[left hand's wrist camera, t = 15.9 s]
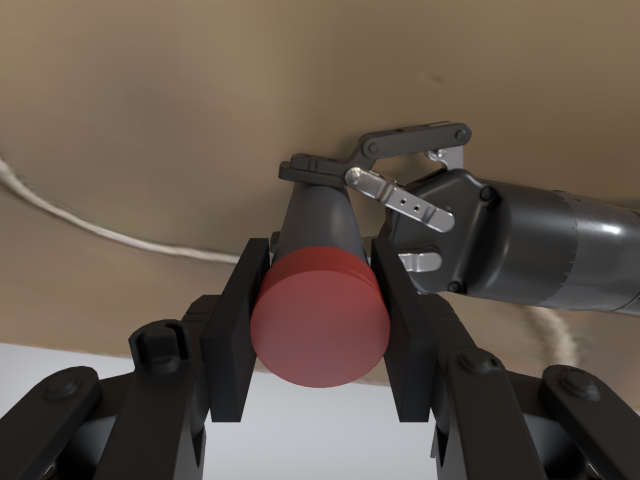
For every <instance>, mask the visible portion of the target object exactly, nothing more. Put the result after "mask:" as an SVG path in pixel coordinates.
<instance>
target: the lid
mask: <svg viewBox="0 0 640 480" xmlns="http://www.w3.org/2000/svg"><path fill="white" fill-rule="evenodd" d="M390 324H391V321H390V316H389V312H388V310H387V306H386V303H385V300H384V297H383V294H382V291H381V288H380V285H379V282H378V280H377V278H376V276H375V274H374V273H373V271H372V270H371V269H370V267H369V266H368V265H367V264H366V263H365V262H364V261H362V260H361V259H360V258H359V257H357V256H355V255H353V254H352V253H350V252H347V251H345V250H342V249H339V248H335V247H329V246H312V247H306V248H301V249H298V250H295V251H293V252H291V253H289V254H287V255H285V256H283V257H282V258H280V259H279V260H278V261H277V262H276V263H274V264H273V265H272V267H271V268H270V269H269V270H268V271H267V273H266V275H265V276H264V278H263V280H262V283H261V286H260V289H259V292H258V295H257V298H256V301H255V304H254V307H253V310H252V314H251V317H250V334H251V343H252V346H253V349H254V351H255V353H256V354H257V356H258V358H259V359H260V360H261V362H262V363H263V364H264V365H265V366H266V367H267V368H268V369H269V370H270V371H271V372H273V373H274V374H275V375H277V376H279V377H280V378H282V379H284V380H286V381H288V382H291V383H294V384H297V385H301V386H305V387H313V388H326V387H334V386H340V385H343V384H347V383H349V382H352V381H354V380H356V379H358V378H360V377H362V376H363V375H365V374H366V373H368V372H369V371H370V370H371V369H372V368H374V367H375V366H376V364H377V363H378V362H379V361H380V360H381V358H382V357H383V355H384V353H385V351H386V349H387V347H388V344H389V336H390Z"/></svg>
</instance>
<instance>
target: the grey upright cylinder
mask: <svg viewBox="0 0 640 480" xmlns="http://www.w3.org/2000/svg"><path fill="white" fill-rule="evenodd" d="M312 246H329V247H335V248H339V249H342V250H345V251H347V252H350V253H352V254H353V255H355V256H357V257H359V258H360V259H361V260H362V261H364V262H365V263H366V264H367V265H368V266H369V267H370V265H369V262H368V258H367V255H366V252H365V248H364V245H363V242H362V239H361V235H360V232H359V229H358V225H357V222H356V219H355V215H354V212H353V209H352V205H351V202H350V199H349V195H348V192H347V189H346V186H345V185H341V189H337V188H331V187H327V186H319V185H313V184H307V183H301V182H296V183H295V186H294V190H293V193H292V196H291V200H290V203H289V206H288V210H287V213H286V216H285V220H284V223H283V226H282V229H281V233H280V236H279V239H278V243H277V246H276V249H275V253H274V256H273V259H272V263H271V266H270V268H271V267H272V265H273V264H274V263H276V262H277V261H278V260H279V259H280V258H282V257H283V256H285V255H287V254H289V253H291V252H293V251H295V250H298V249H301V248H306V247H312ZM370 269H371V268H370Z"/></svg>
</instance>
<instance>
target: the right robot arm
mask: <svg viewBox="0 0 640 480" xmlns="http://www.w3.org/2000/svg"><path fill="white" fill-rule="evenodd" d="M470 137H471V129H470V127H469V126H468V125H466V124H464V123H457V122H451V121H443V122H436V123H430V124H424V125H417V126H411V127H405V128H398V129H392V130H386V131H379V132H373V133H367V134H364V135H362V136H361V137H360V139H359V141H358V144H357V146H356V148H355V149H354V151H353V153H352V154H351V156H349V157H348V158H346V159H343V160H338V159H332V158H326V157H320V156H314V155H309V154H303V153H300V154H296V155H293V156H292V158H291V162H285V161H284V162H281V164H280V167H279V175H278V178H280V179H283V180H289V181H295V182H301V183H307V184H313V185H319V186H327V187H331V188H337V189H341V185H347V186H349V187H351V188H353V189H355V190H357V191H359V192H361V193H363V194H365V195H368V196H370V197H372V198H374V199H376V200H377V201H379V202H380V203H382V204H383V205H385V206H386V208H385V209H386V220H385V222H384V224H383V226H382V228H381V230H380V233H379V236H370V237H363V238H361V239H362V242H363V245H364V248H365V252H366V255H367V258H368V262H369V265H370V259H371V242H372V238H390V239H391V241H392V243H393V245H394V247H395V249H396V251H397V253H398V255H399V257H400V259H401V261H402V263H403V265H404V267H405V269H406V270H407V272H408V274H409V276H410V278H411V280H412V282H413V284H414V286H415V288H416V290H417V292H418V294H434V293H437V292H442V291H450V292H454V293H457V294H460V295H464V296H469V297H476V298H482V299H489V300H496V301H503V302H510V303H517V304H523V305H530V306H537V307H544V308H551V309H557V310H568V311H599V312H605V313H612V314H619V315H626V316H632V317H639V318H640V210H637V209H631V208H625V207H619V206H615V205H612V204H608V203H606V202H603V201H600V200H596V199H593V198H588V197H583V196H578V195H572V194H571V193H567V192H565V191H558V190H552V191H549V190H543V189H537V188H531V187H525V186H519V185H513V184H507V183H501V182H495V181H489V180H483V179H478V178H476V177H474V176H473V175H472V174H471V173H470V172H469V171H467V170H465V169H463V145H465V144H466V143H467V142H468V141H469V140H470ZM418 152H423V153H424V155H425V156H426V157H427V158H429V159H431V160H433V161H440V162H441V163H442V166H443V168H441V169H439V170H437V171H435V172H432V173H430V174H428V175H426V176H424V177H422V178H420V179H418V180H416V181H413V182H411V183H409V184H407V185H405V184H403V183H401V182H399V181H397V180H395V179H393V178H391V177H388V176H386V175H384V174H382V173H378V172H376V171H374V170H372V169H371V168H372V166H373V165H374V163H375V161H376V160H377V159H379V158H386V157H392V156H399V155H405V154H412V153H418ZM280 233H281V232H280V231H276V232H273V234H272V237H271V240H270V248H269V251H270V252H271V253H275V249H276V246H277V243H278V239H279V236H280Z"/></svg>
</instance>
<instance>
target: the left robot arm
mask: <svg viewBox="0 0 640 480" xmlns="http://www.w3.org/2000/svg"><path fill="white" fill-rule="evenodd" d="M370 268H371V270H372V271H373V273H374V274H375V276H376V278H377V280H378V282H379V285H380V288H381V291H382V294H383V297H384V300H385V303H386V306H387V310H388V312H389V316H390V321H391V324H390V336H389V344H388V347H387V349H386V351H385V353H384V355H383V356H384V360H385V364H386V368H387V372H388V376H389V380H390V385H391V389H392V393H393V397H394V401H395V405H396V409H397V413H398V417H399V421H400V422H428V420H429V413H430V407H431V409H432V412H433V414H434V417H435V420H436V425H435V431H434V437H433V443H432V449H431V456H430V457H431V458H435V455H436V465H437V476H438V480H640V416H639V415H637V414H636V413H635V412H634V411H633V410H632V409H631V408H630V407H629V406H628V405H627V404H626V403H625V402H624V401H623V400H622V399H621V398H620V397H619V396H618V395H617V394H616V393H615V392H614V391H612V390H611V389H610V388H609V387H608V386H607V385H606V384H605V383H604V382H602V381H601V380H600V379H598V378H597V377H596V376H594V375H592V374H590V373H588V372H586V371H584V370H581V369H579V368H576V367H572V366H567V365H552V366H549V367H547V368H546V369H545V370H544V372H543V375H542V378H536V377H532V376H527V375H523V374H518V373H514V372H511V371H508V370H506V369H505V367H504V365H503V364H502V362H501V361H500V360H499V359H498V358H497V357H495V356H494V355H493V354H492V353H490V352H487V351H485V350H483V349H481V348H478V347H477V346H476V344H475V343H474V341H473V340H472V338H471V336H470V335H469V333H468V332H467V330H466V329H465V327H464V326H463V324H462V322H461V321H460V319H459V318H458V316H457V315H456V313H455V311H454V310H453V308H452V307H451V305H450V304H449V302H448V301H446V300H445V299H444V298H442V297H441V296H439V295H438V294H418V292H417V290H416V288H415V286H414V284H413V282H412V280H411V278H410V276H409V274H408V272H407V270H406V269H405V267H404V265H403V263H402V261H401V259H400V257H399V255H398V253H397V251H396V249H395V247H394V245H393V243H392V241H391V239H390V238H372V242H371V259H370ZM269 269H270V256H269V239H268V238H250V240H249V242H248V243H247V245H246V247H245V249H244V251H243V253H242V255H241V257H240V259H239V261H238V263H237V265H236V267H235V269H234V271H233V273H232V275H231V277H230V279H229V281H228V283H227V285H226V287H225V288H224V290H223V292H222V294H221V295H202V296H201V297H200V298H198V299H197V300H196V301H194V302H193V303H192V304H191V305H190V307H189V309H188V310H187V312H186V315H184V316H183V318H182V320H181V321H179V320H175V319H164V320H160V321H155V322H152V323H149V324H147V325H144V326H142V327H141V328H139V329H138V330H136V331H135V332H134V333H133V334H132V335H131V336H130V338H129V339H128V341H129V345H130V349H131V353H132V357H133V361H134V365H135V370H134V372H131V373H127V374H124V375H119V376H115V377H110V378H106V379H102V380H99V378H98V374H97V372H96V371H95V370H94V369H93V368H91V367H86V366H78V367H70V368H67V369H64V370H61V371H58V372H56V373H54V374H52V375H50V376H48V377H46V378H44V379H43V380H42V381H41V382H39V383H38V384H37V385H35V386H34V387H33V388H32V389H31V390H30V391H29V392H28V393H27V394H26V395H25V396H24V397H23V398H22V399H21V400H20V401H19V402H18V403H17V404H16V405H14V406H13V407H12V408H11V409H10V410H9V411H8V412H7V413H6V414H5V415H4V416H3V417H2V418H1V419H0V480H202V477H203V466H204V456H205V445H206V432H205V426H204V422H205V420H206V417H207V414H208V411H209V408H210V412H211V419H212V422H240V421H241V418H242V413H243V409H244V405H245V401H246V397H247V393H248V389H249V385H250V381H251V377H252V373H253V369H254V365H255V361H256V357H257V354H256V353H255V351H254V349H253V346H252V343H251V334H250V317H251V314H252V310H253V307H254V304H255V301H256V298H257V295H258V292H259V289H260V286H261V283H262V280H263V278H264V276H265V275H266V273H267V271H268V270H269ZM589 463H590V464H591V466H592V467H593V468H594V470H595V471H596V472H597V473H598V474H597V473H596V472H595V471H594V470H593V469H592V467H591V466H590V465H589ZM51 465H52V466H51ZM50 466H51V467H50ZM49 467H50V468H49ZM48 469H49V470H48ZM47 470H48V471H47ZM46 471H47V472H46ZM45 472H46V473H45ZM598 475H599V476H598Z"/></svg>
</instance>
